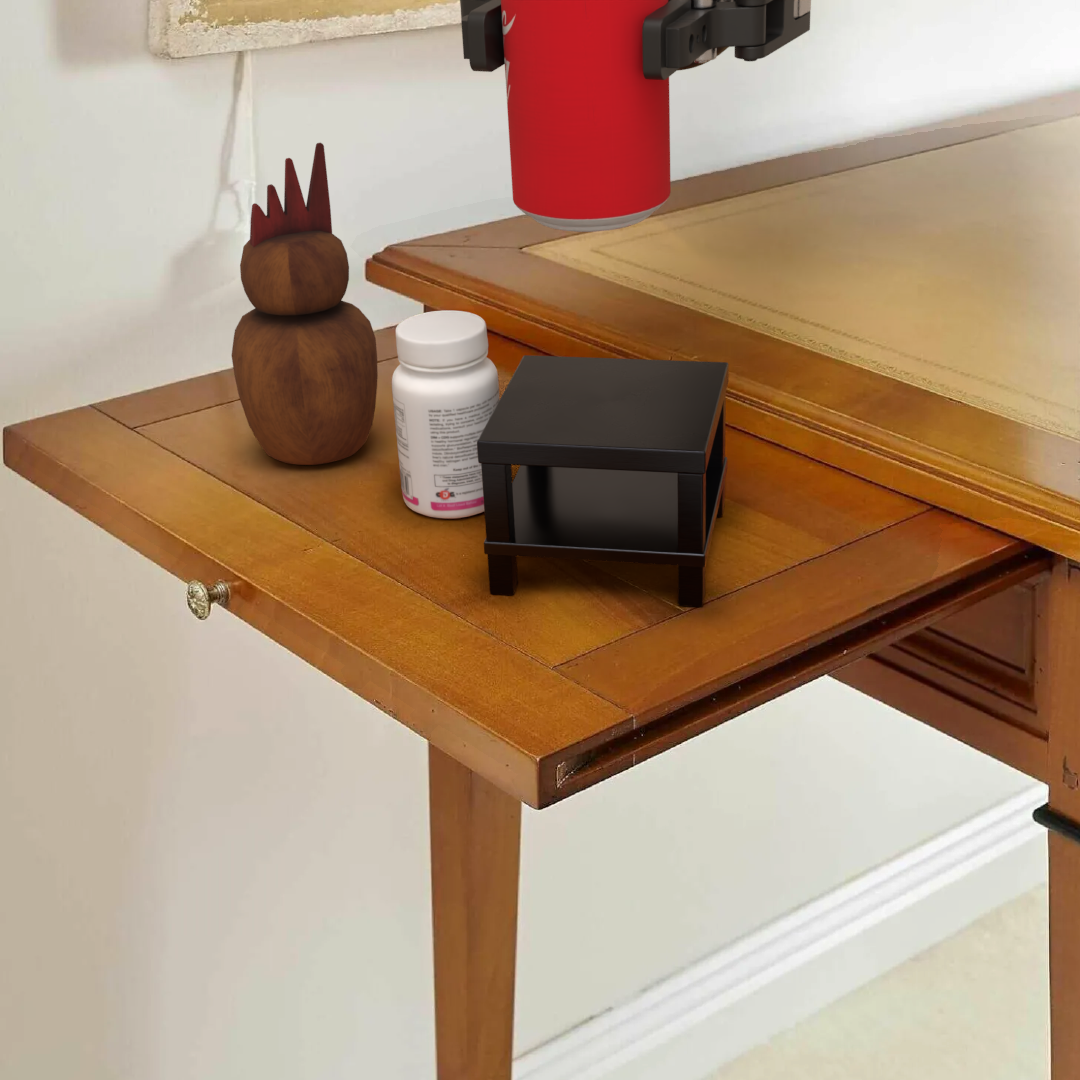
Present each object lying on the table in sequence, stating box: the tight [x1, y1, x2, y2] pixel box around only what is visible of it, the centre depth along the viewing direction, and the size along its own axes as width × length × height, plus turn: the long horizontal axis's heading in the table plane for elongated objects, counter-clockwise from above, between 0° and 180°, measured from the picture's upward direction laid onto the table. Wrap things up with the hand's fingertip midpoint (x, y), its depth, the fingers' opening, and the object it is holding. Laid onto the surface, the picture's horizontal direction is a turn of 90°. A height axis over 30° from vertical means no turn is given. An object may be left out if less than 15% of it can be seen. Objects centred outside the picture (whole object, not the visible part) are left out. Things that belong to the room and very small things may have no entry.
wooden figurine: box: [231, 142, 379, 466], centre depth 77 cm, size 7×6×15 cm
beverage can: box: [501, 0, 672, 233], centre depth 62 cm, size 6×6×12 cm
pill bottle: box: [391, 309, 501, 519], centre depth 73 cm, size 5×5×8 cm
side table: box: [477, 354, 730, 608], centre depth 69 cm, size 9×9×7 cm
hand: (563, 47), depth 59 cm, fingers closed on beverage can, 6 cm apart
